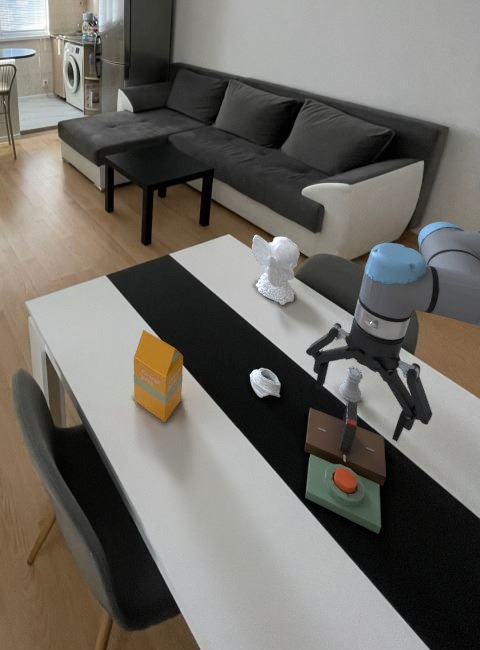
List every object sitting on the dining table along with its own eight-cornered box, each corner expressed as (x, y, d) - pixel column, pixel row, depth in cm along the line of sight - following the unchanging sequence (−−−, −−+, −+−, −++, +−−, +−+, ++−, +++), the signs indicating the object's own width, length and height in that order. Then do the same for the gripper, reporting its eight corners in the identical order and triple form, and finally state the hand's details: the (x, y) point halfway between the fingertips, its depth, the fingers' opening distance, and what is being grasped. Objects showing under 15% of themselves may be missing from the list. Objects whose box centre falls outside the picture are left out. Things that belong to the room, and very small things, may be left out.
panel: (380, 443, 92) (384, 433, 91) (383, 489, 84) (386, 479, 83) (308, 414, 99) (310, 404, 98) (304, 454, 91) (306, 444, 90)
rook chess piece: (362, 405, 100) (369, 381, 97) (340, 400, 102) (346, 376, 99) (357, 389, 104) (363, 365, 101) (336, 384, 106) (342, 361, 103)
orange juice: (164, 422, 99) (166, 359, 92) (133, 400, 105) (132, 339, 97) (181, 399, 104) (184, 337, 97) (151, 378, 110) (151, 319, 103)
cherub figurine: (303, 307, 130) (313, 253, 122) (262, 309, 130) (269, 255, 123) (284, 279, 142) (292, 228, 134) (247, 280, 142) (252, 230, 135)
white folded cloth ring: (244, 378, 110) (243, 363, 108) (268, 371, 110) (268, 356, 109) (261, 404, 102) (261, 389, 101) (287, 397, 103) (287, 382, 101)
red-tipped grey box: (340, 425, 93) (347, 398, 90) (350, 429, 92) (357, 402, 89) (339, 449, 89) (346, 423, 86) (349, 454, 88) (357, 427, 85)
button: (355, 479, 83) (357, 473, 82) (355, 497, 80) (357, 491, 79) (334, 469, 85) (335, 463, 84) (333, 487, 82) (334, 481, 81)
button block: (377, 491, 84) (381, 478, 82) (378, 534, 78) (383, 521, 76) (308, 460, 90) (311, 448, 88) (305, 498, 84) (308, 485, 82)
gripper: (297, 299, 82) (283, 378, 90) (464, 385, 64) (428, 475, 72) (315, 281, 86) (300, 358, 94) (476, 357, 68) (441, 445, 76)
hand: (355, 409), depth 83 cm, fingers open, 13 cm apart
